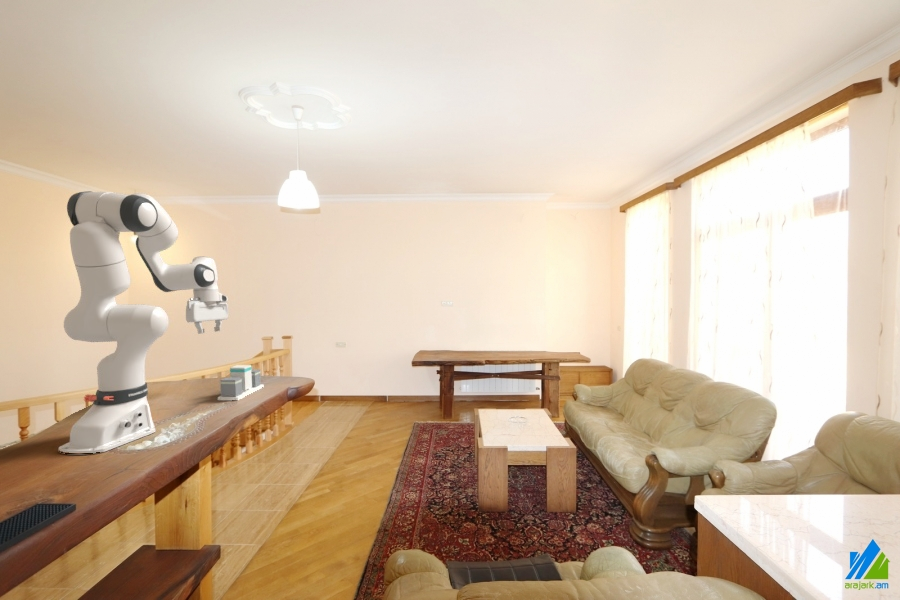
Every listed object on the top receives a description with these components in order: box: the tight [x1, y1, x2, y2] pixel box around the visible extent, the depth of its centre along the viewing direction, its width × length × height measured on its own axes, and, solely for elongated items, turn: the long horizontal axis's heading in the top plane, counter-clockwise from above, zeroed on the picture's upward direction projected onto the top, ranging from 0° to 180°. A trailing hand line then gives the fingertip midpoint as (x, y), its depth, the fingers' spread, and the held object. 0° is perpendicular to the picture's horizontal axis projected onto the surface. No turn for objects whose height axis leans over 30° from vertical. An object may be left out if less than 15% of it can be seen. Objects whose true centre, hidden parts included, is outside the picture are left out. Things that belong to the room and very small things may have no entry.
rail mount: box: [217, 368, 265, 401], centre depth 161 cm, size 18×8×8 cm, turn 175°
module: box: [229, 364, 252, 390], centre depth 160 cm, size 5×6×9 cm
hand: (209, 332), depth 160 cm, fingers open, 8 cm apart
